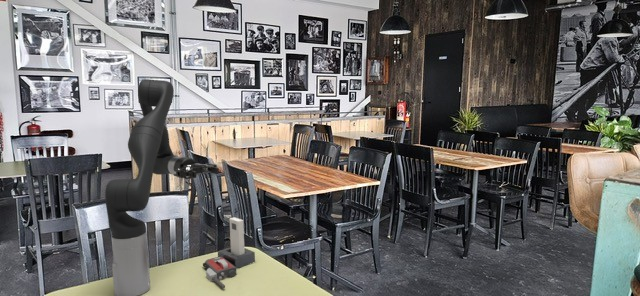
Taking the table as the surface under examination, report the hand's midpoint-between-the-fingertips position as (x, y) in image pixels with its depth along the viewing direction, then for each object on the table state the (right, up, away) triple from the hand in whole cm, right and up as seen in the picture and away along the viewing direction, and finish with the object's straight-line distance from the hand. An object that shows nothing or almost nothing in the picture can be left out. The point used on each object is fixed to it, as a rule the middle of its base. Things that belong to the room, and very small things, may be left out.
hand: (206, 172), depth 147 cm
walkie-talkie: (+7, -32, -10) cm, 35 cm away
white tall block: (+11, -30, 0) cm, 32 cm away
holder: (+10, -30, 0) cm, 32 cm away
